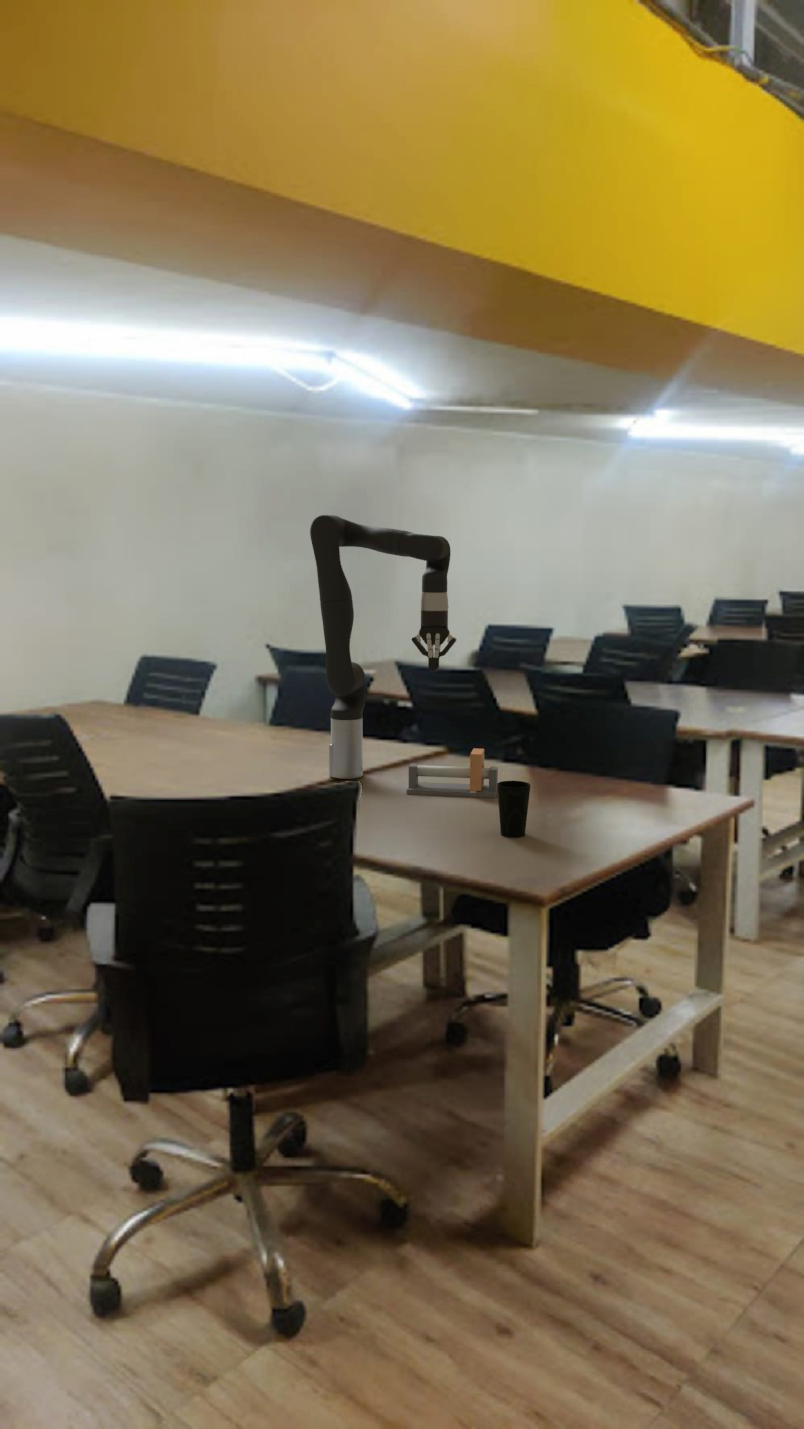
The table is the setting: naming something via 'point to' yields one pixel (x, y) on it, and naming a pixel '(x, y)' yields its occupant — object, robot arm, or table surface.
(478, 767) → the collar
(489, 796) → the pipe rail
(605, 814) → the table surface
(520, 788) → the cup
